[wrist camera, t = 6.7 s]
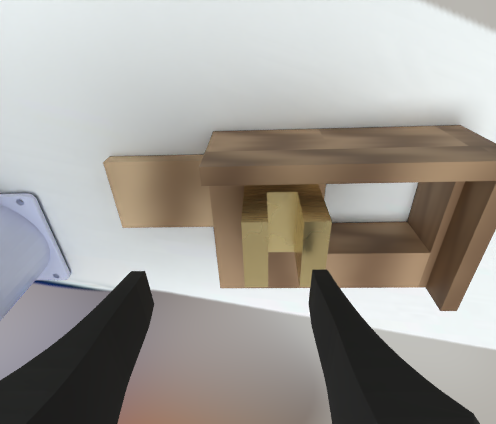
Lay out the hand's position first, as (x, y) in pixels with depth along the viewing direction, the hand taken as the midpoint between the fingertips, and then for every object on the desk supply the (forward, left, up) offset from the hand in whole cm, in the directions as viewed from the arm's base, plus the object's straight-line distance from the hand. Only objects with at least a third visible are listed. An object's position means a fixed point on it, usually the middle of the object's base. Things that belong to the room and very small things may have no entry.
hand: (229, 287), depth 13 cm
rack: (+2, -1, -9) cm, 9 cm away
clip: (+3, 0, -6) cm, 6 cm away
